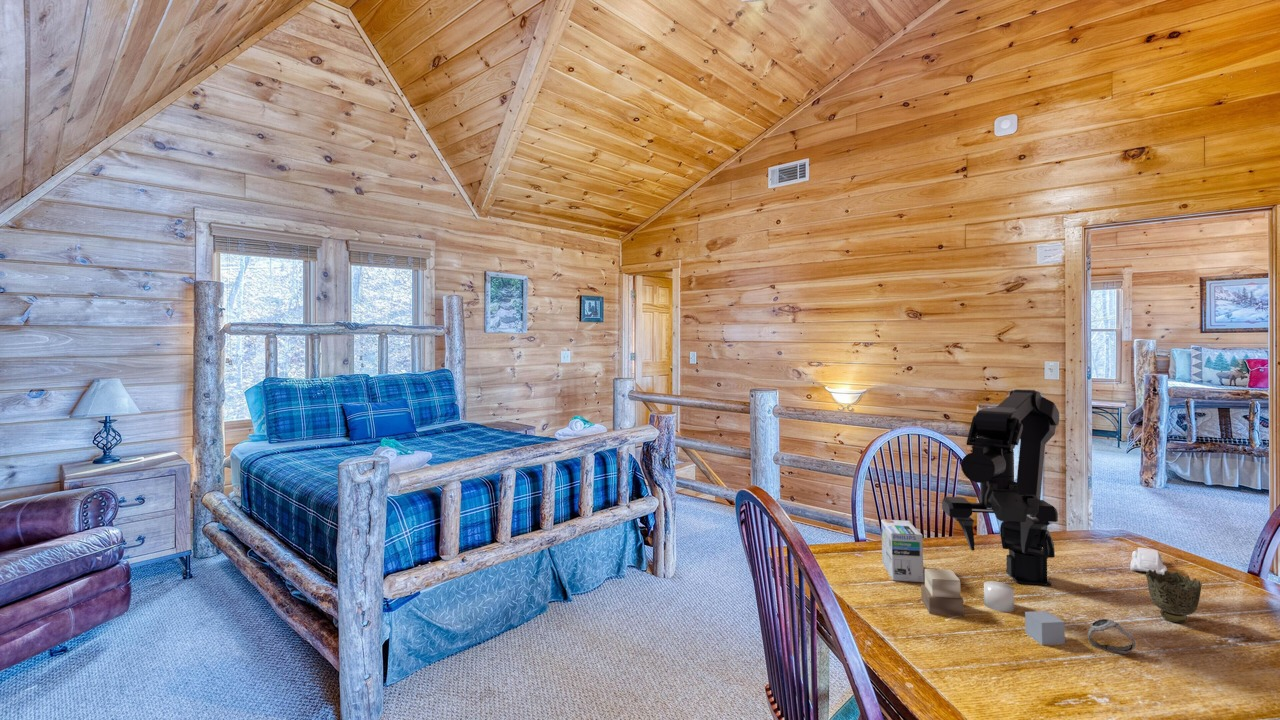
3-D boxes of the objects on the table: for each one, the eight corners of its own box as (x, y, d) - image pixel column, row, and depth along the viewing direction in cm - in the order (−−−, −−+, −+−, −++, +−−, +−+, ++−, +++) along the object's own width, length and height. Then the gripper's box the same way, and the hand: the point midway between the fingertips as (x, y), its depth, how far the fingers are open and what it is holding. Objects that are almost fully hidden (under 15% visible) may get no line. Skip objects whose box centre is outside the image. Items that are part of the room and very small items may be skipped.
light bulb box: (924, 583, 121) (923, 534, 120) (892, 581, 122) (891, 533, 122) (910, 564, 131) (910, 519, 131) (880, 562, 132) (880, 518, 132)
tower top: (951, 587, 111) (951, 570, 111) (960, 598, 106) (960, 580, 106) (924, 585, 112) (924, 568, 112) (932, 596, 107) (932, 578, 107)
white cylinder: (1007, 601, 111) (1007, 582, 111) (1018, 613, 106) (1018, 592, 106) (980, 599, 112) (979, 580, 112) (989, 610, 107) (989, 590, 107)
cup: (1186, 613, 105) (1186, 571, 104) (1212, 632, 98) (1212, 587, 97) (1138, 607, 107) (1137, 567, 107) (1159, 626, 100) (1159, 582, 100)
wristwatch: (1087, 640, 96) (1087, 612, 96) (1135, 651, 92) (1134, 622, 92) (1087, 648, 93) (1087, 620, 93) (1136, 661, 89) (1136, 631, 89)
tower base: (953, 603, 111) (953, 586, 111) (963, 617, 105) (963, 599, 105) (921, 601, 113) (921, 584, 113) (929, 615, 107) (929, 597, 107)
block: (1047, 632, 99) (1046, 611, 99) (1064, 644, 95) (1064, 622, 95) (1025, 633, 99) (1025, 611, 99) (1042, 645, 95) (1041, 622, 95)
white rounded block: (1168, 580, 119) (1168, 559, 119) (1130, 573, 123) (1129, 553, 123) (1164, 563, 128) (1164, 544, 128) (1129, 557, 132) (1129, 538, 132)
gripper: (957, 482, 103) (959, 564, 104) (1072, 485, 99) (1073, 571, 99) (940, 469, 114) (941, 543, 114) (1043, 471, 110) (1044, 548, 110)
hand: (998, 551), depth 109 cm, fingers open, 9 cm apart
